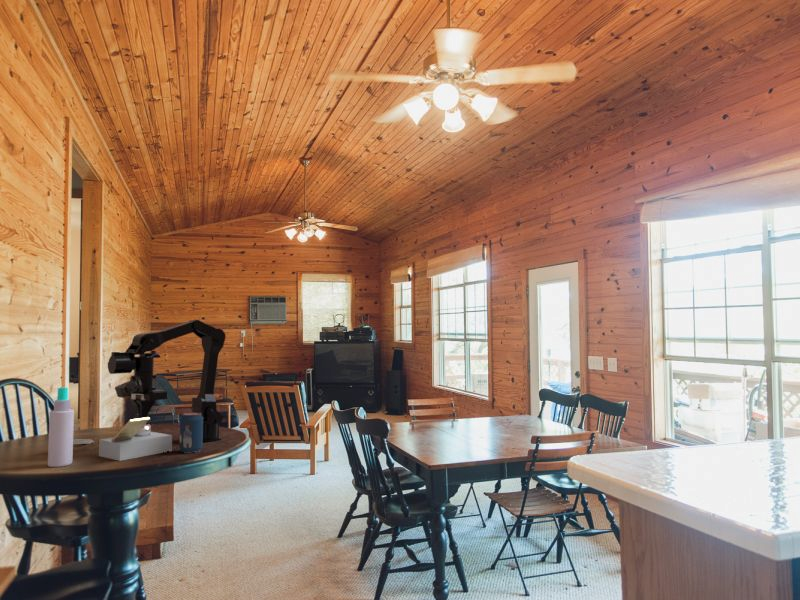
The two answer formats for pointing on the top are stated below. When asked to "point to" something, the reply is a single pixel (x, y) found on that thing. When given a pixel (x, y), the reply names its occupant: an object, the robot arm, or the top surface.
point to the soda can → (191, 432)
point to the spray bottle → (61, 431)
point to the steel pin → (144, 431)
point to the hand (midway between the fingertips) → (142, 420)
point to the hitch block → (135, 446)
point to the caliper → (82, 441)
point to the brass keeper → (131, 428)
